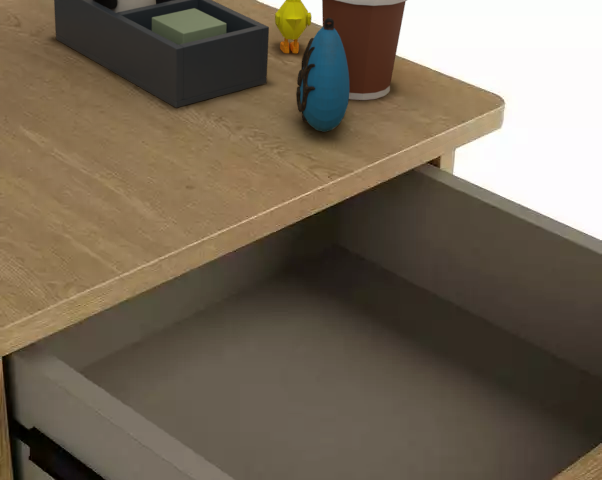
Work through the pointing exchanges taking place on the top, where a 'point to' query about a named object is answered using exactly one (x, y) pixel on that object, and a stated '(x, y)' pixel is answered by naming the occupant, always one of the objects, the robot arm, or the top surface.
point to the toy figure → (292, 23)
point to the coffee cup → (367, 42)
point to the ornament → (323, 80)
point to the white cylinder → (131, 4)
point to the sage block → (187, 26)
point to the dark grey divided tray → (167, 48)
